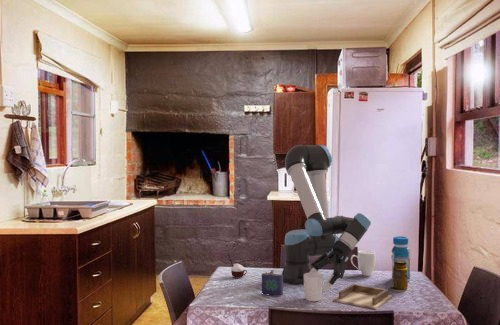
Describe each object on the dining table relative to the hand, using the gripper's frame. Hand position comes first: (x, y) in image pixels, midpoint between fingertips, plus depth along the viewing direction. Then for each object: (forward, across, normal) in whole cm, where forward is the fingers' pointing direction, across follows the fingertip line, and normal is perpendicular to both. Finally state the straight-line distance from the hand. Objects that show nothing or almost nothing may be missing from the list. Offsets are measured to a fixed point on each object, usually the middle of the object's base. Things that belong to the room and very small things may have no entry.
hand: (315, 285), depth 186 cm
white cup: (+4, +1, -4) cm, 6 cm away
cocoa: (+15, +47, +7) cm, 50 cm away
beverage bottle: (-32, +8, -42) cm, 53 cm away
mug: (-25, +23, -34) cm, 48 cm away
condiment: (-24, -3, -34) cm, 42 cm away
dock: (-8, -8, -17) cm, 20 cm away
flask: (+13, +14, +5) cm, 20 cm away
